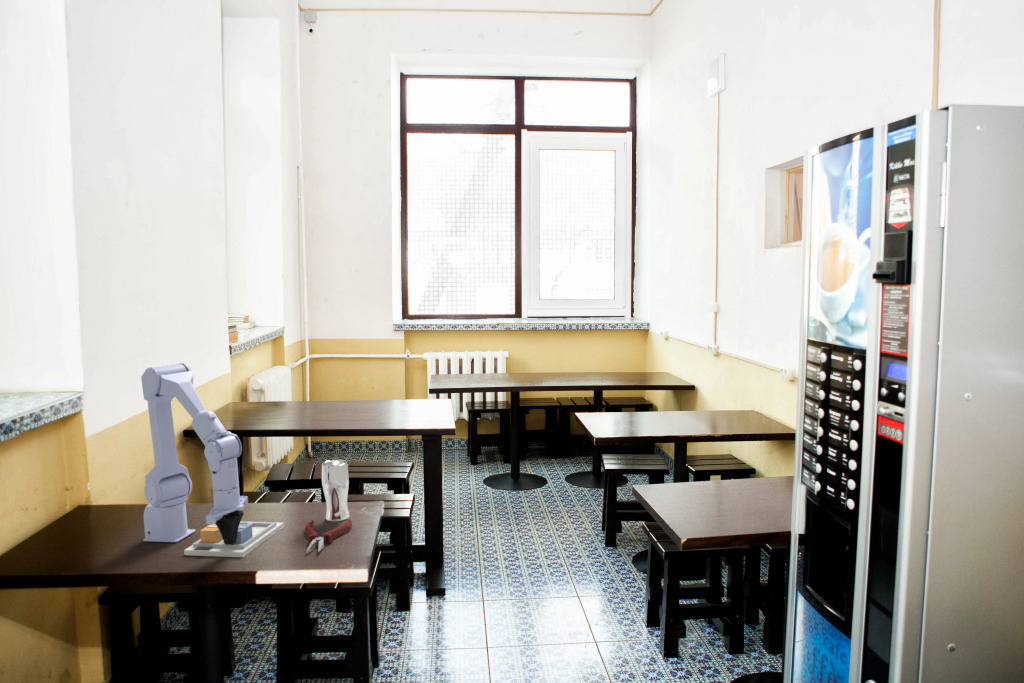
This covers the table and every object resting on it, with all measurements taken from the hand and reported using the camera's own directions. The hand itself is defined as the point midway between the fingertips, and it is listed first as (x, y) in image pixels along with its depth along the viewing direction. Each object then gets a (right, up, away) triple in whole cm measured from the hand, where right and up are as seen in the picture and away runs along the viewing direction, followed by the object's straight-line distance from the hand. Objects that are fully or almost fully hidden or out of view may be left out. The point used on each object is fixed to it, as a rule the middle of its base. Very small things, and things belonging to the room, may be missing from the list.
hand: (230, 543), depth 173 cm
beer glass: (+20, 0, +23) cm, 30 cm away
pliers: (+18, -2, +8) cm, 20 cm away
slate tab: (+1, -1, +4) cm, 4 cm away
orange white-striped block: (-6, -1, +5) cm, 8 cm away
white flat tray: (-2, -2, +9) cm, 9 cm away
